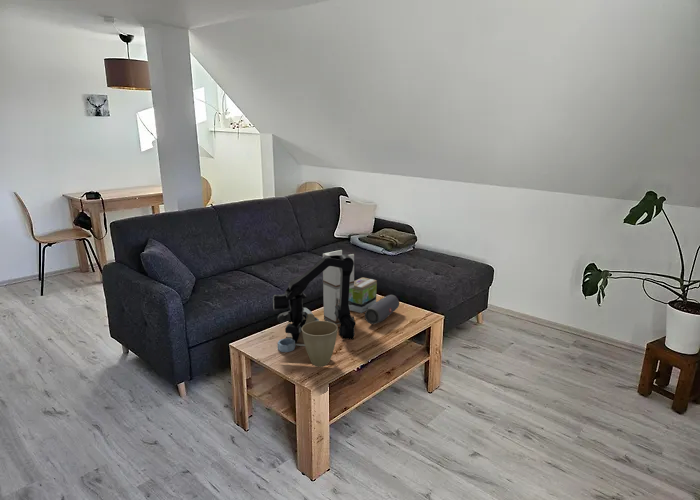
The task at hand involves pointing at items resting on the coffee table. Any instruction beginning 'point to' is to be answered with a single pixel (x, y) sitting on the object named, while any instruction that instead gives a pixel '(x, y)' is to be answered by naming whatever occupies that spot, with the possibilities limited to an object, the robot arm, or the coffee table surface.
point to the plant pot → (319, 341)
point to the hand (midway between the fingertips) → (297, 339)
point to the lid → (300, 339)
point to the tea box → (362, 294)
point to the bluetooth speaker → (381, 309)
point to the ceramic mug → (309, 316)
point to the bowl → (286, 345)
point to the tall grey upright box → (333, 288)
